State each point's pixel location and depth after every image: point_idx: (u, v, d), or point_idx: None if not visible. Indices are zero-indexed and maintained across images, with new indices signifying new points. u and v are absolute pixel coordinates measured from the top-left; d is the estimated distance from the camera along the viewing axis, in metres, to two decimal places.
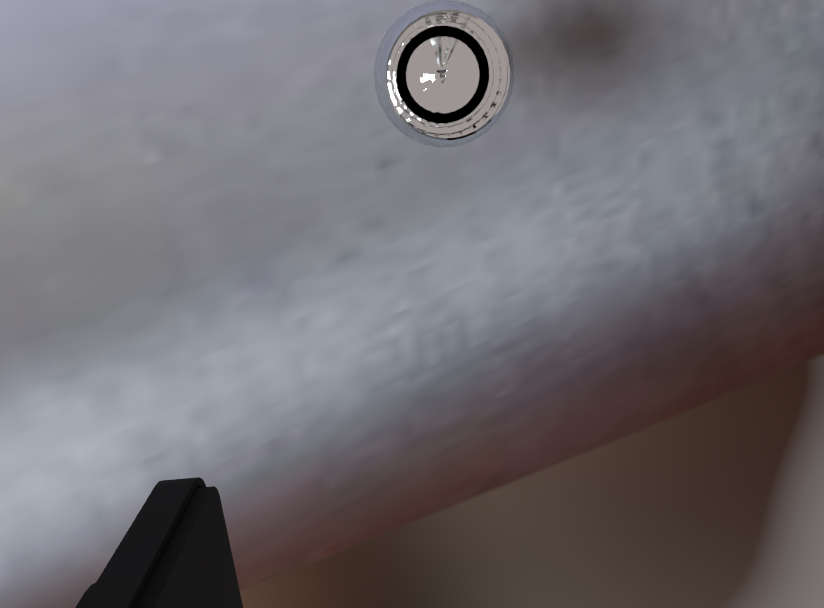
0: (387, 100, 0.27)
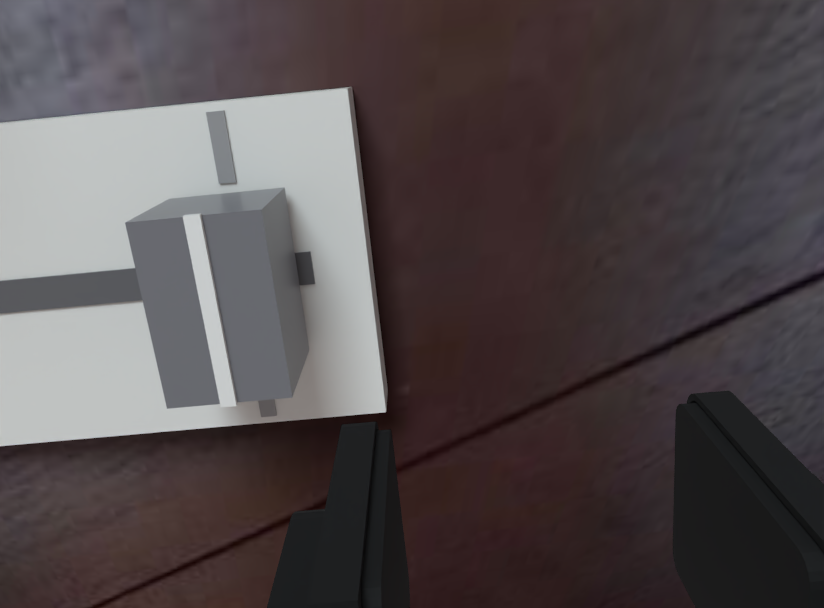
0: None
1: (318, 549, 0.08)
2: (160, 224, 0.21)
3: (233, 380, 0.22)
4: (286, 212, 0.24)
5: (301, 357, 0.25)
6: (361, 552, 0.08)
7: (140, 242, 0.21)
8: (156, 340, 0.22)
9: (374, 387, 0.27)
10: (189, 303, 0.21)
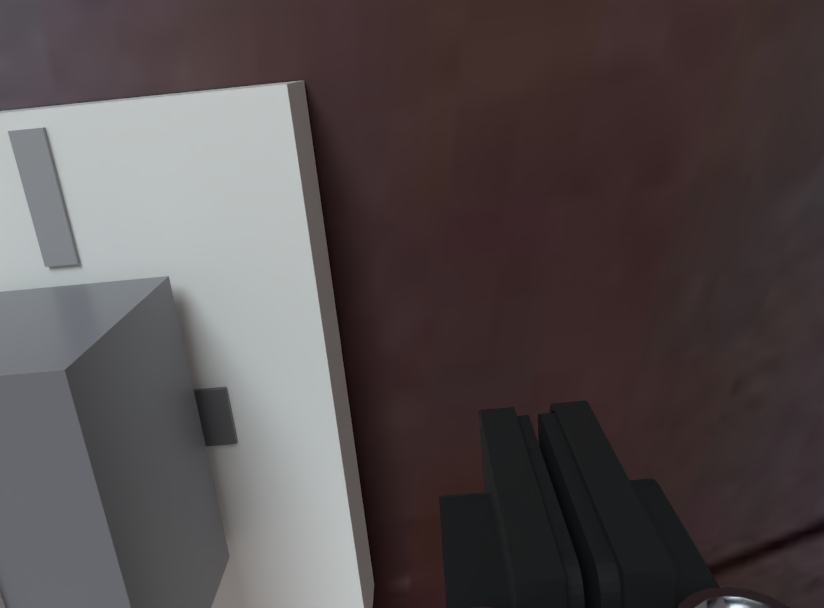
0: None
1: (506, 529, 0.08)
2: None
3: None
4: (171, 325, 0.13)
5: (204, 598, 0.13)
6: (549, 532, 0.08)
7: None
8: None
9: None
10: None
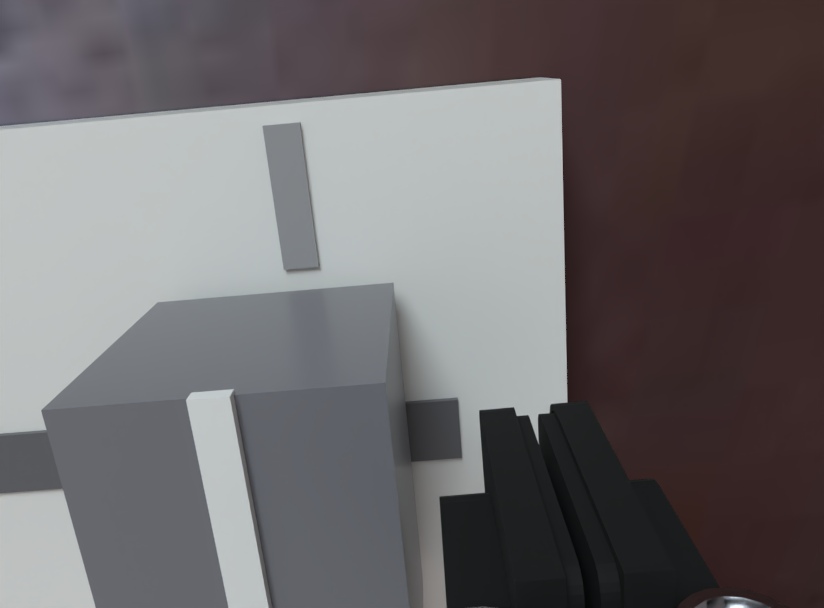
0: None
1: (506, 529, 0.08)
2: (129, 416, 0.08)
3: None
4: (397, 334, 0.12)
5: None
6: (549, 532, 0.08)
7: (81, 455, 0.08)
8: None
9: None
10: (200, 586, 0.09)
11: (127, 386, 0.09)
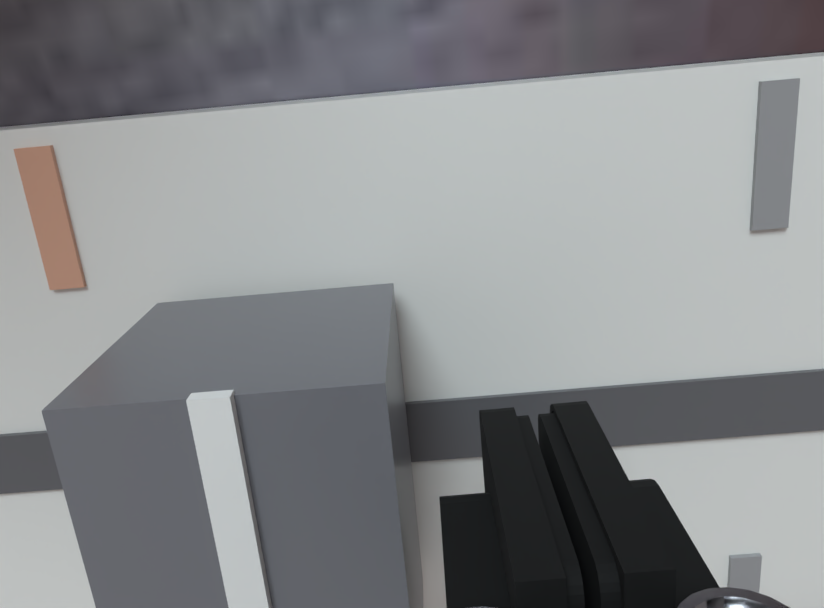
0: None
1: (505, 529, 0.08)
2: (129, 415, 0.08)
3: None
4: (397, 335, 0.12)
5: None
6: (549, 532, 0.08)
7: (81, 456, 0.08)
8: None
9: None
10: (200, 586, 0.09)
11: (127, 386, 0.09)
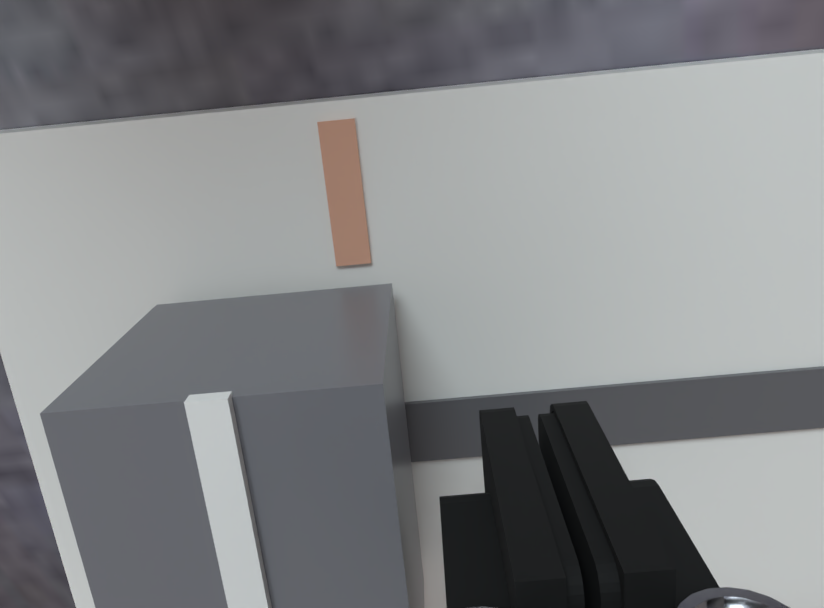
0: None
1: (506, 529, 0.08)
2: (126, 418, 0.08)
3: None
4: (396, 335, 0.12)
5: None
6: (549, 532, 0.08)
7: (80, 458, 0.08)
8: None
9: None
10: (200, 587, 0.09)
11: (125, 389, 0.09)
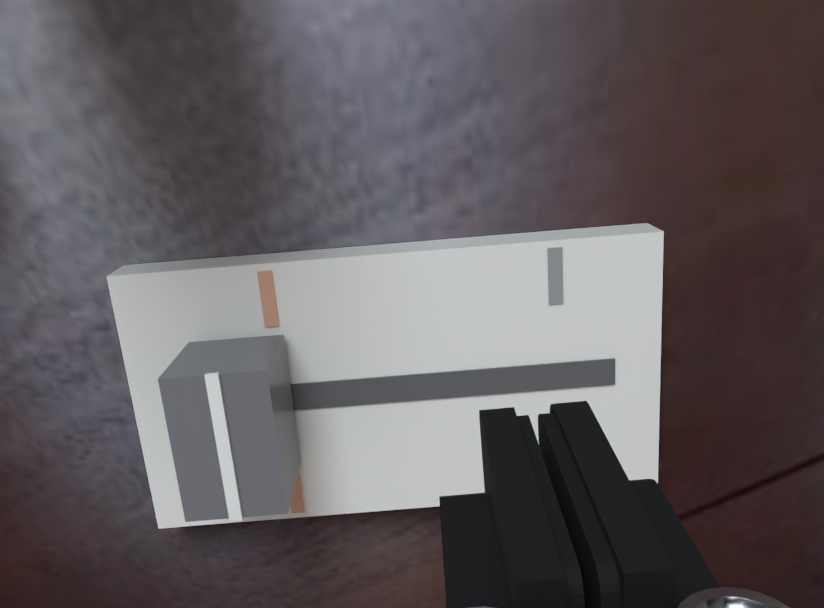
0: None
1: (505, 529, 0.08)
2: (185, 380, 0.26)
3: (240, 500, 0.27)
4: (284, 355, 0.30)
5: (295, 473, 0.30)
6: (549, 532, 0.08)
7: (169, 394, 0.26)
8: (179, 468, 0.27)
9: (650, 468, 0.32)
10: (206, 440, 0.27)
11: (184, 372, 0.27)
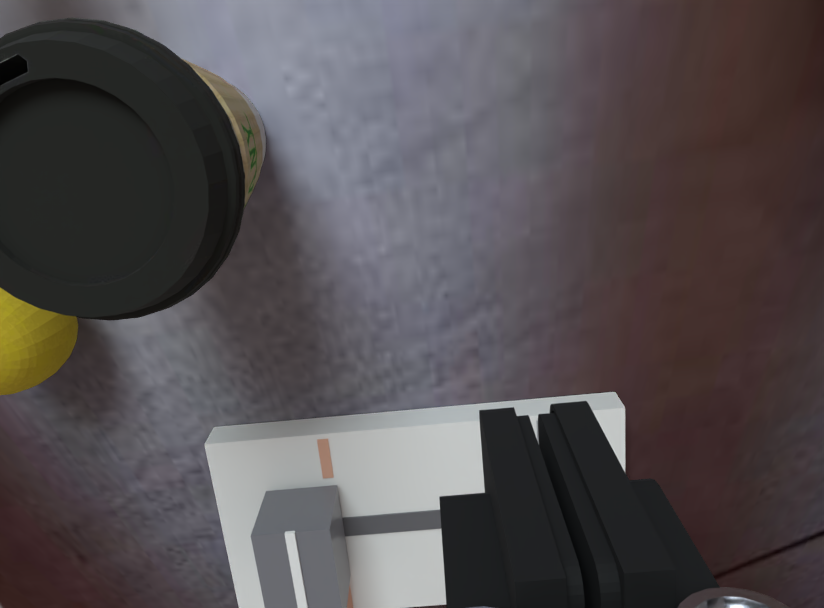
0: None
1: (505, 529, 0.08)
2: (270, 536, 0.36)
3: None
4: (338, 501, 0.39)
5: (347, 588, 0.40)
6: (549, 532, 0.08)
7: (259, 545, 0.36)
8: (265, 595, 0.37)
9: None
10: (285, 576, 0.37)
11: (268, 528, 0.36)
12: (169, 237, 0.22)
